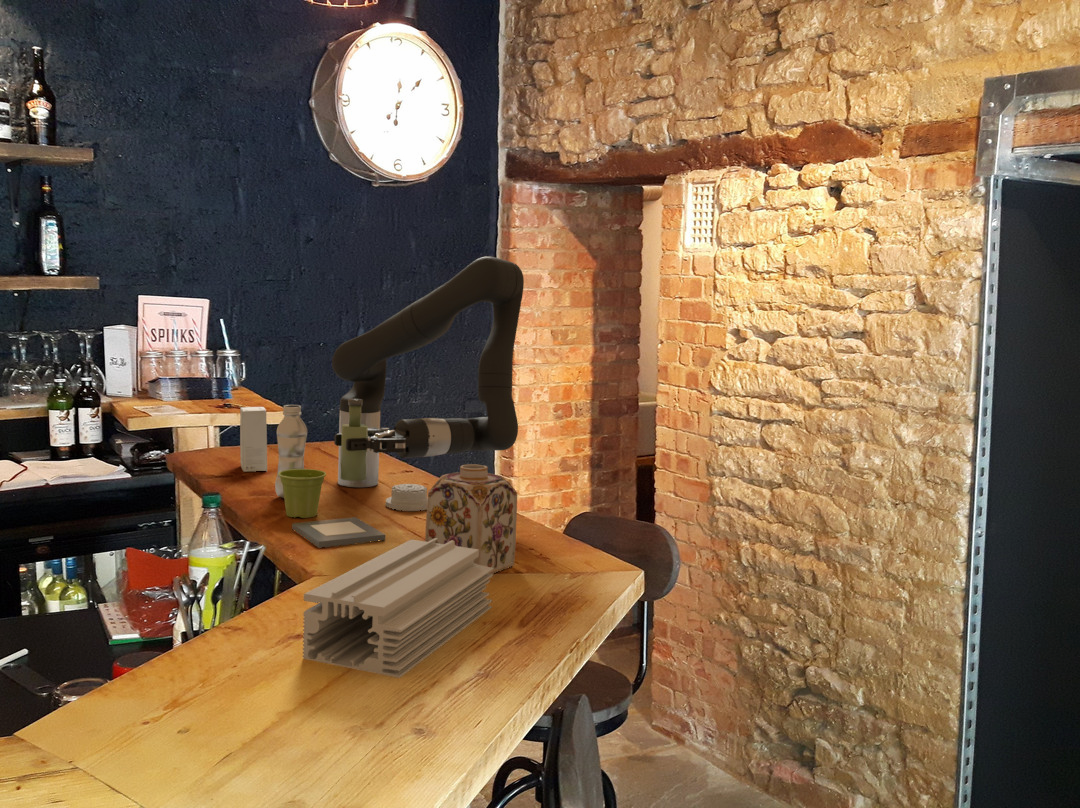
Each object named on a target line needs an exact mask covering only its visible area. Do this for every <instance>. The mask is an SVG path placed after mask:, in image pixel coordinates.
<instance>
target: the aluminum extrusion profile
mask: <svg viewBox="0 0 1080 808" xmlns="http://www.w3.org/2000/svg"><path fill="white" fill-rule="evenodd" d="M437 539H438V538H434V539H432V540H430V541H429V542H425V540H418V539H417V540H416V539H409V540H407V541H405V542H403V543H401V544H399V545H397V546H396V547H393V548H391V549H389V550H387V551H386V552H384V553H382V554H379V555H378V556H376V557H373V558H372V559H369V560H368V561H366V562H364V563H363V564H360V565H358V566H356V567H354V568H353V569H350V570H348V571H347V572H345V573H343V574H341V575H338V576H336V577H335V578H333V579H330V580H329V581H327V582H325V583H323V584H321V585H319V586H317V587H315V588H312V589H311V590H309V591H307V592H305V593H304V594H303V600H304V602H307V603H314V604H315V605H312V606H311V607H309V608H307V609H305V610H304V611H303V614H302V615H303V626H302V627H303V629H302V631H303V633H302V634H303V636H302V639H303V640H302V646H303V647H302V658H303V659H304V660H309V661H314V662H318V663H324V664H328V665H333V666H338V667H343V668H349V669H354V670H358V671H363V672H368V673H374V674H376V675H377V674H378V675H382V676H387V677H393V678H397V679H398V678H399V679H400V678H402V677H403V676H405V674H407V673H408V672H409V671H411V670H412V669H414V668H416V666H417V665H419V664H420V663H421V662H422V661H424V660H425V659H426V658H428V657H429V656H430V655H431V654H433V653H434V652H436V651H437V650H439V648H441V647H443V645H445V644H446V643H448V641H450V640H451V639H452V638H454V637H455V636H456V635H458V634H459V633H460V632H462V631H463V630H465V628H467V627H468V626H469V625H471V624H472V623H473V622H475V621H476V620H478V619H479V618H480V617H481V616H483V615H484V614H485V613H486V612H488V611H490V610H491V608H492V605H490V604H491V603H492V602H493V599H489V598H487V597H488V596H489V595H490V592H487V591H484V590H486V589H487V585H488V584H489V583H490V582H491V580H490V579H491V578H492V577H493V576H494V574H490V573H489V572H490V571H492V570H493V567H492V568H491V567H488V566H487V567H486V566H483V565H482V566H481V565H478V564H474V559H476V558H477V557H479V550H478V549H472V548H465V547H459V546H456V545H455V543H454V541H453V540H451V541H449V542H448V543H446V544H439V543H435V541H436V540H437ZM488 573H489V574H488Z"/></svg>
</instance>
